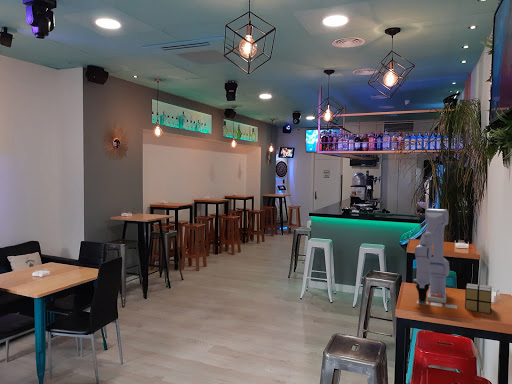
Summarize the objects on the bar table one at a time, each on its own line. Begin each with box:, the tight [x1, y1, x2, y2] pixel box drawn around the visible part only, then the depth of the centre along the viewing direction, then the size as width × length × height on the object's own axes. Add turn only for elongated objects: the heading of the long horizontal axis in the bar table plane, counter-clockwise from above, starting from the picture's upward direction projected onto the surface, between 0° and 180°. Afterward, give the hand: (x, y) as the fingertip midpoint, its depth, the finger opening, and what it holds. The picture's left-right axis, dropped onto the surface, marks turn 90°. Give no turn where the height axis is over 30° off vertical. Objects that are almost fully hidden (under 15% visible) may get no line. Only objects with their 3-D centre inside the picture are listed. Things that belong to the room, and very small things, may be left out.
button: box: [431, 293, 443, 298], centre depth 187 cm, size 5×5×3 cm
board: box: [416, 299, 458, 309], centre depth 180 cm, size 6×18×1 cm, turn 64°
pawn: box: [418, 292, 428, 305], centre depth 182 cm, size 3×3×7 cm
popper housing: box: [426, 292, 447, 304], centre depth 187 cm, size 8×8×2 cm
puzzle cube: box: [464, 283, 493, 314], centre depth 176 cm, size 10×10×10 cm
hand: (422, 299), depth 182 cm, fingers closed on pawn, 3 cm apart
